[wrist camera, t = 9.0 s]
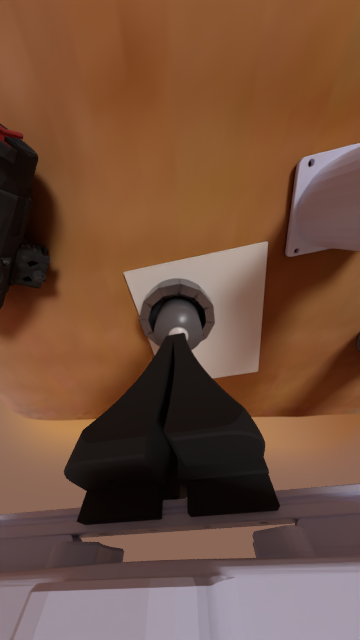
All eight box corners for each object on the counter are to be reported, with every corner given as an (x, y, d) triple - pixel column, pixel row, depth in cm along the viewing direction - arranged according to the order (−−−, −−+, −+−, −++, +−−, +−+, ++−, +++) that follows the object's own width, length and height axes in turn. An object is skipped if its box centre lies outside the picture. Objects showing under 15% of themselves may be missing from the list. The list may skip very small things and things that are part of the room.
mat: (266, 241, 17) (268, 241, 16) (257, 369, 27) (258, 371, 26) (124, 271, 18) (123, 272, 18) (165, 383, 28) (165, 385, 28)
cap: (202, 300, 19) (209, 320, 15) (191, 333, 21) (195, 358, 17) (161, 291, 18) (157, 310, 14) (155, 326, 21) (150, 351, 16)
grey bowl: (206, 271, 18) (210, 277, 15) (212, 331, 22) (217, 343, 20) (134, 286, 18) (129, 293, 16) (154, 341, 23) (152, 354, 20)
